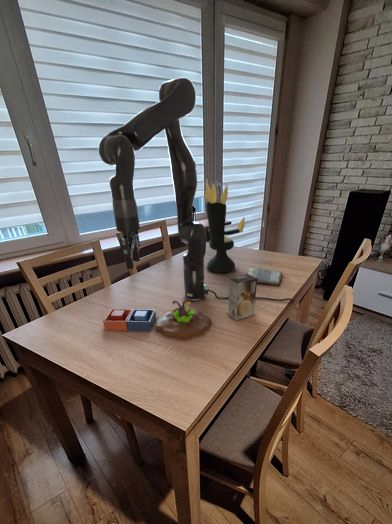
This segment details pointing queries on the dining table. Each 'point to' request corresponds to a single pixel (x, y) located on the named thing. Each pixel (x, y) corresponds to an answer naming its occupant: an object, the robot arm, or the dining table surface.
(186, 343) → the dining table surface
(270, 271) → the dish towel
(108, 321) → the terracotta bin
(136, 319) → the blue block
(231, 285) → the coffee box
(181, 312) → the plant
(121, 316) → the brick block
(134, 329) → the slate bin
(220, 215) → the candelabra
